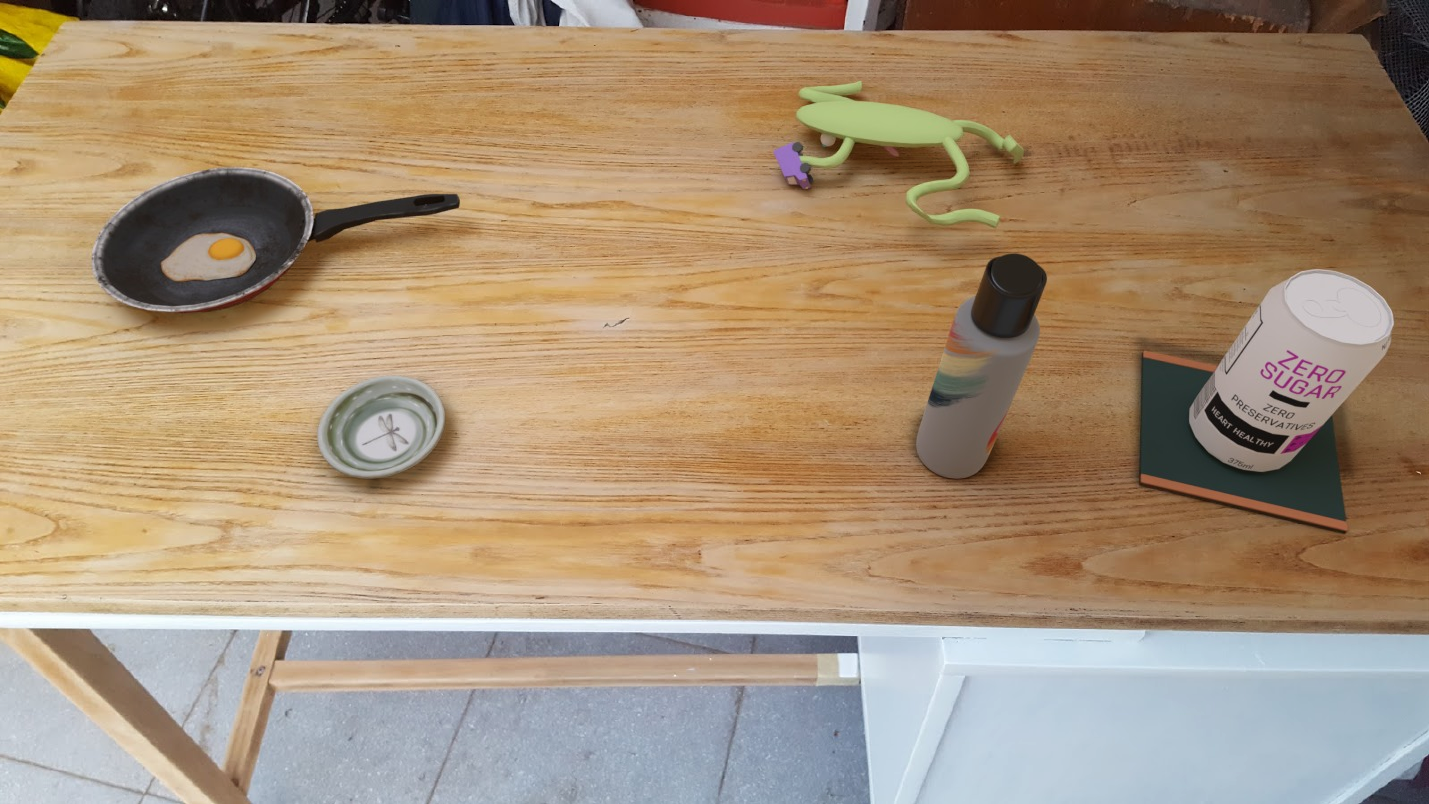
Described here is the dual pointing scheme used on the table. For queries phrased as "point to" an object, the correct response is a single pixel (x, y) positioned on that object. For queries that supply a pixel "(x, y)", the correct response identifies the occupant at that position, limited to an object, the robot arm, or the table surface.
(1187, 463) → the mat
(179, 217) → the frying pan
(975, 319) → the lotion bottle
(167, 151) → the table surface
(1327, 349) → the supplement can
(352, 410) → the saucer
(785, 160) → the figurine
